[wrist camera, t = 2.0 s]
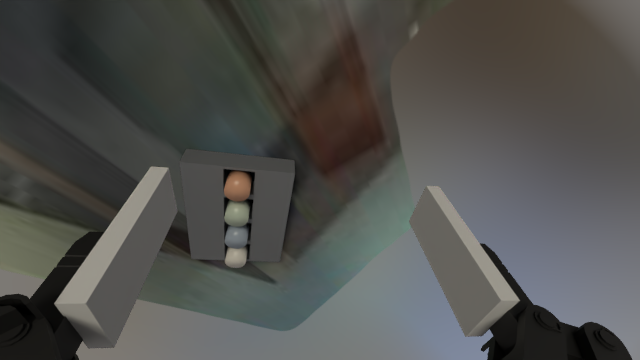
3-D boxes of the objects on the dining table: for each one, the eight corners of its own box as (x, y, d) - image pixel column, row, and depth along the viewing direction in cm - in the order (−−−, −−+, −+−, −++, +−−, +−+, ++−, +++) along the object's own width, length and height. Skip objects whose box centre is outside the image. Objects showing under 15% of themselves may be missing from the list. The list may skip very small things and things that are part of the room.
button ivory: (228, 252, 58) (225, 267, 55) (227, 240, 56) (224, 254, 53) (247, 253, 59) (245, 268, 56) (248, 241, 56) (246, 255, 54)
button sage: (227, 211, 51) (224, 226, 48) (227, 195, 49) (224, 209, 46) (249, 213, 52) (247, 227, 49) (250, 197, 49) (248, 211, 47)
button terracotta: (227, 186, 47) (224, 200, 45) (227, 167, 45) (223, 181, 42) (251, 188, 48) (249, 202, 45) (252, 170, 46) (250, 183, 43)
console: (196, 243, 59) (191, 258, 56) (186, 148, 45) (179, 161, 42) (280, 247, 63) (279, 262, 60) (294, 160, 49) (295, 173, 46)
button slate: (227, 233, 54) (224, 248, 52) (227, 219, 52) (224, 233, 49) (248, 234, 55) (246, 249, 52) (249, 220, 53) (247, 235, 50)
